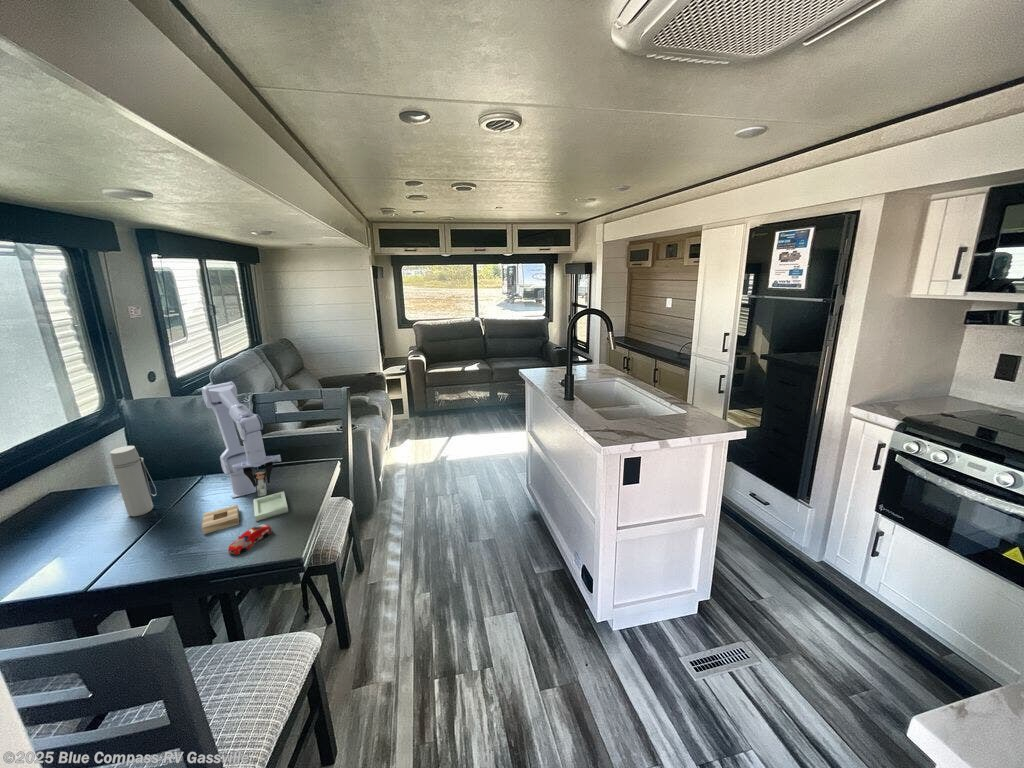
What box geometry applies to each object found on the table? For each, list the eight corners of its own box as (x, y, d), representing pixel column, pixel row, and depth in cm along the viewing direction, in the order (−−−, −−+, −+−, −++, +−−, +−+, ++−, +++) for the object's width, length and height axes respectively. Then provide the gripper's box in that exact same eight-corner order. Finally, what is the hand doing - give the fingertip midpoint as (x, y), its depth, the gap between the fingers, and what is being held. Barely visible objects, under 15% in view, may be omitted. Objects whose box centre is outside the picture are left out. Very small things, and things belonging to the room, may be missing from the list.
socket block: (205, 519, 144) (203, 513, 143) (238, 510, 149) (237, 504, 148) (203, 534, 136) (201, 527, 135) (239, 524, 141) (237, 517, 140)
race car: (236, 558, 124) (233, 547, 123) (224, 554, 126) (222, 543, 125) (275, 533, 136) (273, 523, 135) (264, 529, 138) (261, 519, 137)
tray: (254, 504, 153) (253, 499, 152) (284, 495, 158) (283, 491, 158) (255, 521, 142) (254, 516, 142) (288, 511, 148) (287, 506, 147)
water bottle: (127, 520, 144) (107, 456, 137) (128, 511, 150) (108, 449, 143) (161, 510, 150) (143, 448, 143) (160, 501, 155) (143, 441, 149)
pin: (255, 493, 148) (253, 473, 146) (268, 490, 150) (265, 470, 148) (256, 497, 145) (253, 477, 143) (268, 495, 147) (266, 474, 145)
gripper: (229, 458, 136) (237, 494, 140) (278, 448, 143) (285, 482, 147) (230, 451, 142) (237, 486, 145) (277, 441, 149) (283, 474, 153)
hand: (261, 483), depth 147 cm, fingers closed on pin, 4 cm apart
